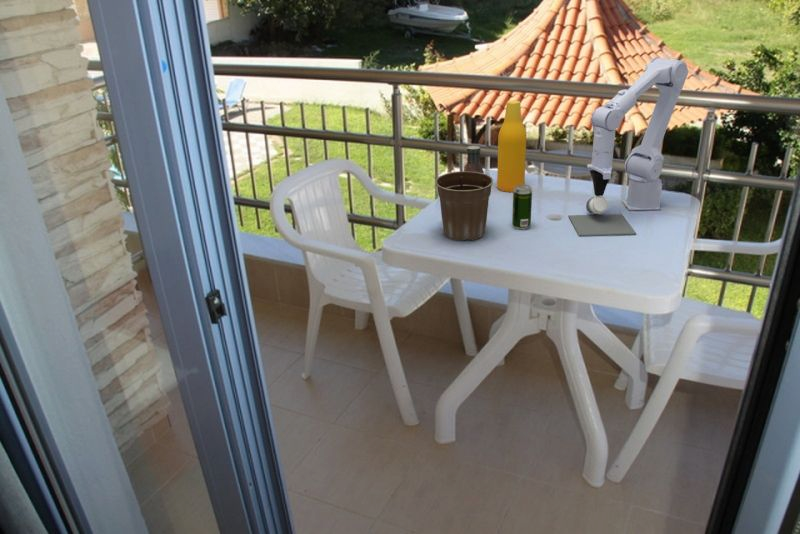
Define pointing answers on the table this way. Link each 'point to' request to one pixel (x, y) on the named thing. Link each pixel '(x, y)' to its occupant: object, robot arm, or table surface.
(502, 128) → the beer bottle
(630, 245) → the table surface
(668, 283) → the table surface
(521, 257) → the table surface
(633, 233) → the mat
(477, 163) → the sauce bottle
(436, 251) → the table surface
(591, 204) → the pill bottle
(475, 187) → the plant pot
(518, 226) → the beer can
